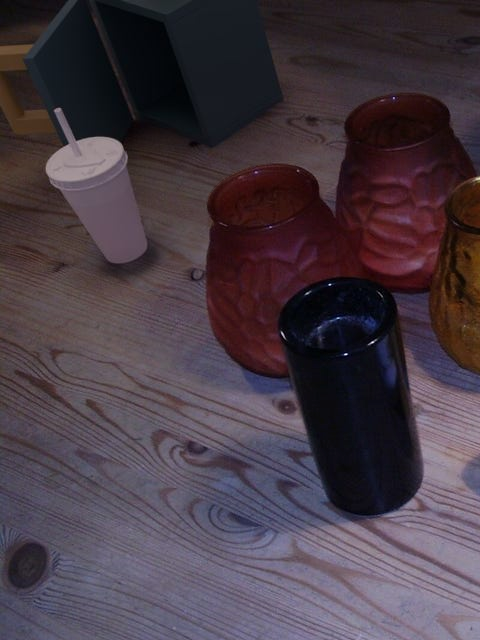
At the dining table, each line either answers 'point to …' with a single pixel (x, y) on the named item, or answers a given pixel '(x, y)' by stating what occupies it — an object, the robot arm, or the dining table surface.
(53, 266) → the dining table surface
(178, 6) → the cupboard
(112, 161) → the smoothie
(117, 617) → the dining table surface
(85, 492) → the dining table surface
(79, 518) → the dining table surface
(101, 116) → the cupboard door
